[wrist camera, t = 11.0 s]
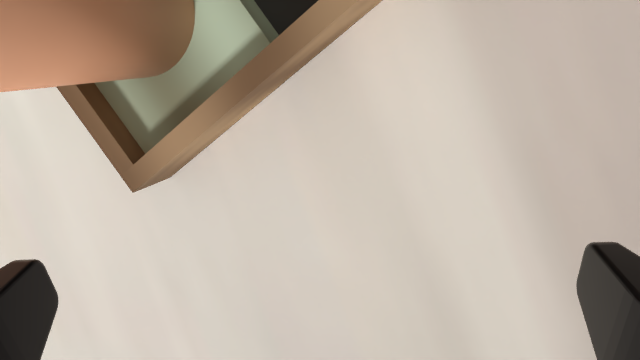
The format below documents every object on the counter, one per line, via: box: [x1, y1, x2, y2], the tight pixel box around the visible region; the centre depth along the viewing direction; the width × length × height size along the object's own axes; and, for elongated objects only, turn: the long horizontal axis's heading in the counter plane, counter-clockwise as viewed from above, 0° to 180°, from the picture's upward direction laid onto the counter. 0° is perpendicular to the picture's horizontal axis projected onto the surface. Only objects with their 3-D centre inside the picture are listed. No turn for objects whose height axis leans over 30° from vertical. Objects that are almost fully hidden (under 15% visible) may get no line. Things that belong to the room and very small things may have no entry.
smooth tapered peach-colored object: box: [0, 0, 195, 92], centre depth 15 cm, size 5×5×10 cm
